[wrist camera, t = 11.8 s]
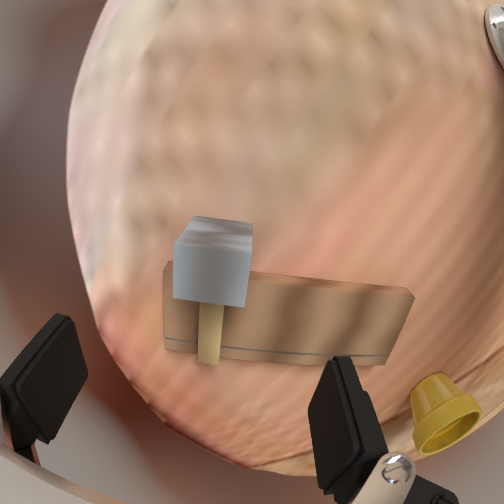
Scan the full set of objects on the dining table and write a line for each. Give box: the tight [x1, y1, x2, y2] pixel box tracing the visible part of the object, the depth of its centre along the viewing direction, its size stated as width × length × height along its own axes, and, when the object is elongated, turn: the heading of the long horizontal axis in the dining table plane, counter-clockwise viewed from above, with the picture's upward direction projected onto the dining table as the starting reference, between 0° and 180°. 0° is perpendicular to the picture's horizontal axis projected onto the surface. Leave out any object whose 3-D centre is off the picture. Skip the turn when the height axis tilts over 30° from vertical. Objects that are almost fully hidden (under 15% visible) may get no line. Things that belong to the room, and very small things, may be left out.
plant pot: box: [410, 373, 482, 455], centre depth 29 cm, size 10×10×10 cm
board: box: [163, 261, 415, 366], centre depth 27 cm, size 24×9×2 cm, turn 82°
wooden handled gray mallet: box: [173, 216, 252, 365], centre depth 24 cm, size 5×13×7 cm, turn 172°
